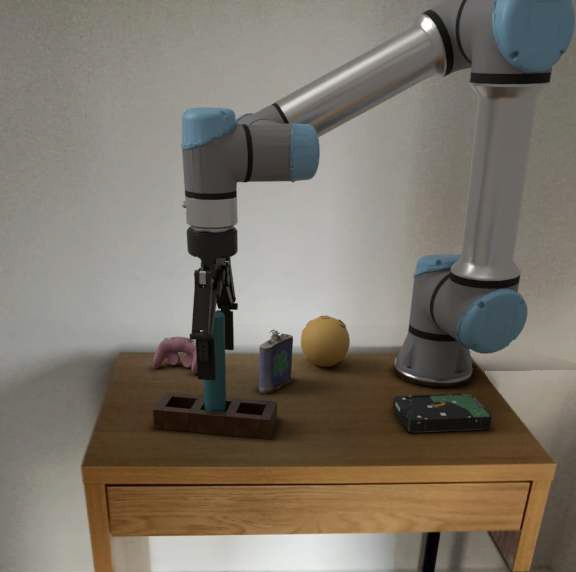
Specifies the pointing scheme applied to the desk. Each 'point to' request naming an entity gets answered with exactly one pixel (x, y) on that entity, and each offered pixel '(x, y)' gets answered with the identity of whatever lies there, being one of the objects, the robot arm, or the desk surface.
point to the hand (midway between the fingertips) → (216, 363)
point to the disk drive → (441, 413)
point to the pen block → (215, 416)
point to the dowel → (217, 369)
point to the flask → (275, 362)
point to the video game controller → (171, 349)
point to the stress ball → (325, 341)
